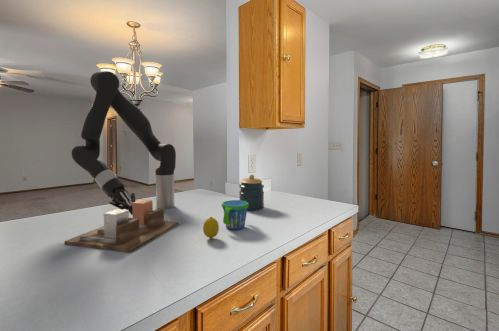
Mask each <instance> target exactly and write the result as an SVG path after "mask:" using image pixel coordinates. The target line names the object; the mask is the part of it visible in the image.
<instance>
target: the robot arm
mask: <svg viewBox="0 0 499 331" xmlns="http://www.w3.org/2000/svg"><path fill="white" fill-rule="evenodd" d="M90 84H91V87H92V89H93V90H94V91H95V98H94V101H93V103H92V106H91V108H90V109H89V112H88V113H87V115H86V117H85V120H84V123H83V126H82V130H81V133H80V137H81V138H82V140H84V141H85V145H77V146H76V145H75V146H74V147H73V148H72V149H71V158H72V160H73V161H74V162H75V163H76V164H77V165H78V166H80V167H81V168H82V169H84V170H85V171H86V172H88V173H89V175H90V176H91V177H92V178H93V180H94V181H95V183H97V185H98V187H100V189H101V190H102V192H104V194H105V195H106V196H107V197H109V198H111V199H110V201H109V205H111V206H114V207H115V208H117V209H121V210H129V213H130V215H131V216H133V212H132V203H133V202H136V201H137V200H136V195H135V193H134V192H132V193H130V192H129V191H128V190H126V189H125V184H124V183H123V182H122V180H121V179H120V178H119V177H118V176H117V174H116V173H115V172H114V171H113V170H111V169H110V168H109V167H108V165H107V164H106V163H105V162H104V161H102V160H99V157H100V154H101V142H100V141H101V136H102V133H103V128H104V125H105V122H106V118H107V115H108V112H109V110H110V107H111V108H112V109H113V110H114V111H115V113H116V114H117V116H119V117H120V119H121V120H122V121H123V123H124V124H125V125H126V126H127V127H128V129H130V131H131V132H132V133H134V135H135V136H136V137H137V138H138V139H139V140H140V141H141V143H142V144H143V145H144V146H145V148H146V149H147V150H148V153H150V155H151V156H152V157H153V159H154V160H156V161H158V162H160V165H159V166H158V167H156V169H155V203H156V204H155V206H156V209H159V208H164V209H170V208H174V207H175V170H176V157H177V154H176V153H177V152H176V149H175V146H174V145H173V144H171V143H162V142H161V141H160V140H158V139H157V137H156V136H155V135H154V132H153V129H152V126H151V122H150V121H149V119H148V117H147V116H146V115H145V114H144V113H143V112H142V110H141V109H139V107H138V106H137V105H135V104H134V103H133V102H131V101H130V100H129V99H127V98H126V97H125V96H124V94H123V93H122V92H121V91H120V89H119V88H120V80H119V77H118V76H117V74H115V73H113V71H108V70H104V71H103V70H102V71H97V72H94V73H92V75H91V77H90Z"/></svg>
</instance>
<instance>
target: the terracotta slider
mask: <svg viewBox="0 0 499 331" xmlns="http://www.w3.org/2000/svg"><path fill="white" fill-rule="evenodd" d="M135 201H136V202H133V203H132V212H133V215H132V217H133V219H139V225H147V224H146V213H149V212H151V211H154V208H153V207H154V206H153V204H154V202H153V200H152V199H151V200H150V199H140V200H135Z"/></svg>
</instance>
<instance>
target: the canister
mask: <svg viewBox="0 0 499 331" xmlns="http://www.w3.org/2000/svg"><path fill="white" fill-rule="evenodd" d="M240 183H241V184H239V186H238V187H239V191H238V193H239V196H238V198H239V199H238V200H241V201H246V202H248V203H249V206H248V208H247V212H256V211H261V210H264V206H265V203H264V202H265V200H264V198H265V196H264V193H265V192H264V187H265V185H264V184H263V180H261V179H260V178H255V176H254V174H250V175H249V176H248V177H246V178H243V179H242V180H240Z"/></svg>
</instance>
